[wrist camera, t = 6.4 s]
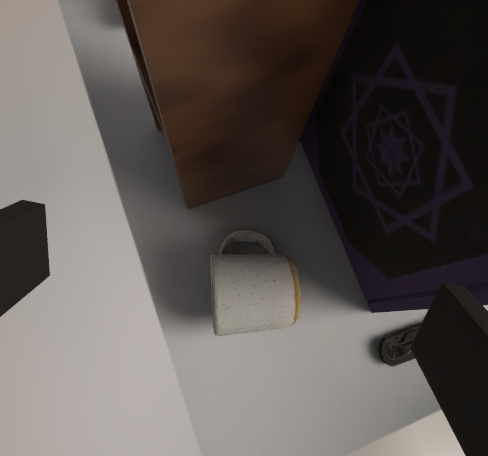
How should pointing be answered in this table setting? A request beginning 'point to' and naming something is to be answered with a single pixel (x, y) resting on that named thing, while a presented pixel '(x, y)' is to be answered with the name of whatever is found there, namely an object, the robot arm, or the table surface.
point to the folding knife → (398, 347)
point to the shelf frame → (232, 82)
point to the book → (407, 148)
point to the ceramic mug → (253, 288)
